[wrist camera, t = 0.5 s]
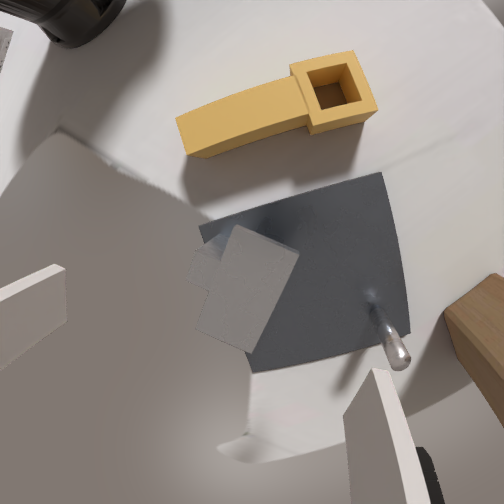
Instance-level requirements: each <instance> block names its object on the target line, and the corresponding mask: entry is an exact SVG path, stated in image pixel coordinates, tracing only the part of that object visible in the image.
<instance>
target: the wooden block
mask: <svg viewBox="0 0 504 504" xmlns="http://www.w3.org/2000/svg"><path fill="white" fill-rule="evenodd" d="M444 318H445V321H446V324H447V327H448V330H449V333H450V336H451V339H452V342H453V345H454V348H455V352H456V355H457V358H458V360H459V361H460V362H461V364H462V365H463V367H464V368H465V369H466V371H467V372H468V374H469V375H470V377H471V378H472V379H473V381H474V382H475V383H476V385H477V387H478V388H479V390H480V391H481V393H482V394H483V396H484V397H485V399H486V400H487V402H488V403H489V405H490V407H491V408H492V410H493V411H494V413H495V414H496V416H497V418H498V419H499V421H500V423H501V424H502V426H503V428H504V278H503V277H502V276H500V275H498V274H497V273H493V274H491V275H489V276H488V277H487V278H485V279H484V280H483V281H482V282H480V283H479V284H478V285H477V286H475V287H474V288H473V289H471V290H470V291H469V292H468V293H466V294H465V295H464V296H462V297H461V298H459V299H458V300H457V301H455V302H454V303H453V304H451V305H450V306H448V307H447V308H446V309H445V311H444Z"/></svg>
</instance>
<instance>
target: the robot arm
mask: <svg viewBox="0 0 504 504" xmlns="http://www.w3.org/2000/svg"><path fill="white" fill-rule="evenodd" d="M125 1H126V0H0V11H2V12H5V13H8V14H10V15H13V16H16V17H19V18H22V19H24V20H27V21H30V22H33V23H35V24H37V25H38V26H39V27H40V28H41V30H42V31H43V32H44V33H45V34H46V35H47V37H48V38H49V39H50V40H51V41H52V42H53V43H55V44H57V45H59V46H61V47H64V48H75V47H78V46H81V45H83V44H85V43H87V42H89V41H90V40H92V39H93V38H95V37H96V36H97V35H98V34H100V33H101V32H102V31H103V30H104V29H105V28H106V27H107V26H108V25H109V24H110V23H111V22H112V21H113V20H114V18H115V17H116V16H117V14H118V13H119V12H120V10H121V9H122V7H123V5H124V3H125ZM66 307H67V306H66V269H65V268H63V267H61V266H59V265H56V264H53V265H50V266H48V267H46V268H44V269H41V270H39V271H37V272H35V273H32V274H30V275H28V276H26V277H24V278H22V279H19V280H18V281H15V282H13V283H11V284H9V285H7V286H5V287H3V288H1V289H0V371H1V370H2V369H4V368H5V367H6V366H7V365H9V364H10V363H11V362H13V361H14V360H15V359H17V358H18V357H19V356H21V355H22V354H23V353H25V352H26V351H27V350H29V349H30V348H31V347H33V346H34V345H36V344H37V343H38V342H40V341H41V340H42V339H44V338H45V337H46V336H48V335H49V334H51V333H52V332H53V331H55V330H56V329H58V328H59V327H60V326H62V325H63V324H65V323H66V322H67V308H66ZM343 421H344V429H345V438H346V448H347V457H348V469H349V481H350V496H351V504H445V502H444V499H443V495H442V492H441V488H440V484H439V482H437V480H438V478H437V475H436V472H434V470H435V469H434V465H433V463H432V459H431V457H430V456H429V454H428V453H427V452H426V450H425V449H424V448H423V447H415V445H414V442H413V439H412V436H411V433H410V430H409V427H408V424H407V421H406V418H405V415H404V412H403V409H402V406H401V403H400V401H399V398H398V395H397V392H396V390H395V387H394V384H393V382H392V379H391V376H390V374H389V371H387V370H382V369H377V368H371V370H370V372H369V373H368V375H367V377H366V379H365V380H364V382H363V384H362V386H361V387H360V389H359V391H358V392H357V394H356V396H355V397H354V399H353V401H352V402H351V404H350V405H349V407H348V409H347V410H346V412H345V413H344V415H343Z"/></svg>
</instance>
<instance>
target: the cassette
mask: <svg viewBox="0 0 504 504" xmlns="http://www.w3.org/2000/svg"><path fill="white" fill-rule="evenodd" d="M12 34H13V31H12V30H9V29H5V28H2V27H0V72H1V69H2V66H3V63H4V59H5V56H6V53H7V50H8V47H9V44H10V42H11V39H12V38H11V37H12Z"/></svg>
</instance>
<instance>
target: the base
mask: <svg viewBox="0 0 504 504" xmlns="http://www.w3.org/2000/svg"><path fill="white" fill-rule="evenodd" d="M235 225H240V226H242V227H244V228H247V229H249V230H251V231H254V232H256V233H258V234H261V235H263V236H265V237H268V238H270V239H272V240H275V241H277V242H279V243H282V244H284V245H286V246H289V247H291V248H293V249H295V250H298V251H299V257H298V259H297V261H296V263H295V266H294V268H293V270H292V272H291V274H290V276H289V278H288V281H287V283H286V285H285V287H284V289H283V291H282V293H281V295H280V297H279V299H278V301H277V303H276V306H275V308H274V310H273V312H272V314H271V316H270V318H269V320H268V322H267V324H266V326H265V328H264V330H263V332H262V334H261V336H260V338H259V340H258V342H257V344H256V346H255V348H254V350H253V352H252V354H251V353H248V352H246V351H245V354H246V356H247V359H248V361H249V364H250V366H251V369H252V371H253V372H258V371H264V370H269V369H275V368H280V367H285V366H290V365H295V364H300V363H305V362H309V361H314V360H318V359H322V358H326V357H331V356H335V355H339V354H343V353H346V352H350V351H354V350H358V349H361V348H365V347H368V346H372V345H375V344H379V343H381V344H382V346H383V349H384V351H385V353H386V356H387V358H388V361H389V363H390V365H391V368H392V369H393V370H394V371H402V370H404V369H406V368H407V367H408V366H409V364H410V362H411V357H410V355H409V353H408V351H407V349H406V348H405V346H404V344H403V342H402V340H401V339H400V337H401V336H404V335H407V334H410V333H411V331H410V320H409V311H408V302H407V294H406V286H405V279H404V273H403V267H402V261H401V255H400V249H399V244H398V239H397V234H396V229H395V224H394V220H393V215H392V211H391V207H390V203H389V199H388V195H387V191H386V187H385V183H384V179H383V176H382V172H377V173H373V174H369V175H366V176H362V177H358V178H354V179H351V180H347V181H343V182H340V183H336V184H333V185H329V186H326V187H322V188H318V189H315V190H311V191H308V192H305V193H301V194H298V195H294V196H291V197H288V198H284V199H281V200H278V201H274V202H271V203H268V204H264V205H261V206H258V207H255V208H252V209H248V210H245V211H242V212H239V213H236V214H233V215H229V216H226V217H223V218H220V219H217V220H214V221H211V222H208V223H205V224H202V225H200V226H199V229H200V232H201V235H202V238H203V240H204V243H207V242H208V241H210V240H211V239H212V238H214V237H215V236H217V235H218V234H222V235H224V236H226V237H229V238H230V235H231V232H232V230H233V227H234V226H235Z"/></svg>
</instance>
